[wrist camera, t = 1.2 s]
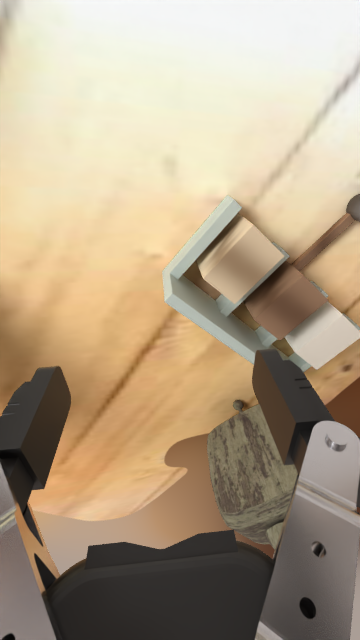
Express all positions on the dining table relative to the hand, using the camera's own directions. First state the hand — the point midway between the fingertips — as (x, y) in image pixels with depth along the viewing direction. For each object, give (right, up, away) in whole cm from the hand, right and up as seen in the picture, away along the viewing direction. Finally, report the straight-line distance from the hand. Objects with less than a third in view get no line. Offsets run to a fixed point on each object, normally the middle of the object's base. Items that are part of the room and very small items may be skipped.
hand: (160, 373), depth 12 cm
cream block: (+19, +2, +28) cm, 34 cm away
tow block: (+16, +10, +23) cm, 30 cm away
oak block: (+7, +11, +22) cm, 25 cm away
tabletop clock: (+12, -13, +37) cm, 41 cm away
